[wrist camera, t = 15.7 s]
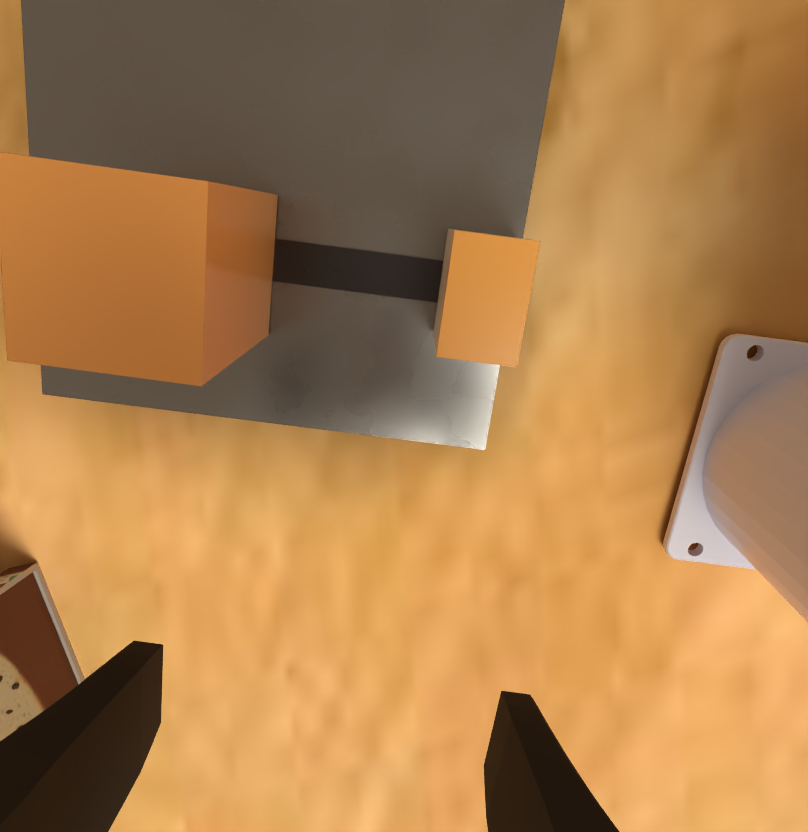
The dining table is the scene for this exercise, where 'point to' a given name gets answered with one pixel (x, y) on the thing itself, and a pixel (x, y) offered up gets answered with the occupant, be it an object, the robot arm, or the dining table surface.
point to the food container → (31, 649)
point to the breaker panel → (314, 178)
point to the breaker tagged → (484, 297)
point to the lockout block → (132, 269)
